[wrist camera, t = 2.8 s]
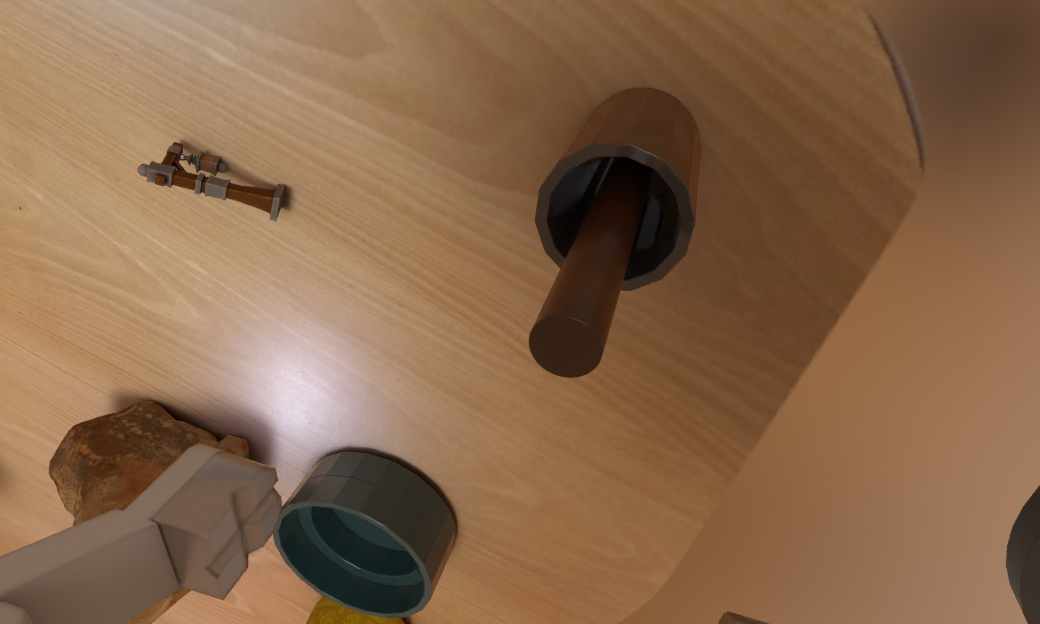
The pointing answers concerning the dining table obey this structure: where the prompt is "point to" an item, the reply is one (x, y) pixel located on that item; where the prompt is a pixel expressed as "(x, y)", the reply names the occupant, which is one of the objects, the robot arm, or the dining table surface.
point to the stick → (592, 275)
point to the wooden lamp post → (210, 180)
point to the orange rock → (125, 465)
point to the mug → (344, 615)
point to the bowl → (366, 534)
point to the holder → (645, 139)
